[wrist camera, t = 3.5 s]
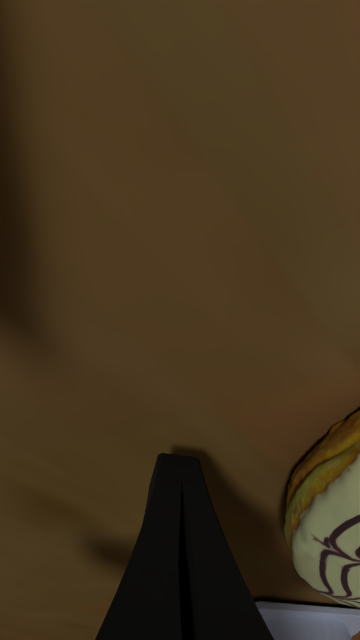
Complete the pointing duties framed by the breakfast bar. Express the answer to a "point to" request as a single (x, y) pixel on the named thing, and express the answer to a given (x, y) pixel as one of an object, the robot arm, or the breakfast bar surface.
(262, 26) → the breakfast bar surface
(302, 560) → the decorated donut
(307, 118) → the breakfast bar surface
